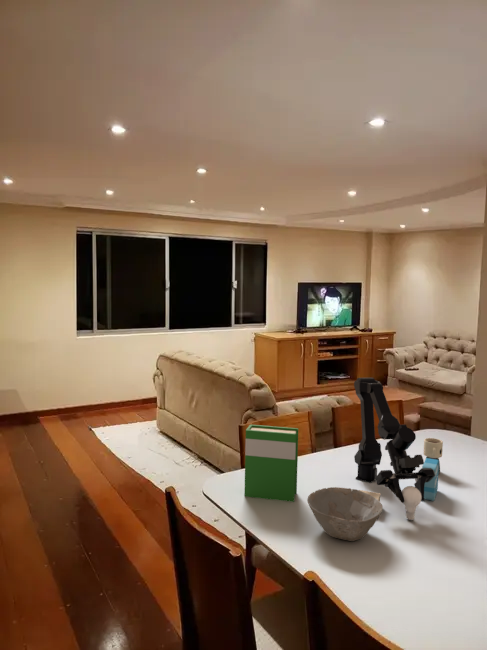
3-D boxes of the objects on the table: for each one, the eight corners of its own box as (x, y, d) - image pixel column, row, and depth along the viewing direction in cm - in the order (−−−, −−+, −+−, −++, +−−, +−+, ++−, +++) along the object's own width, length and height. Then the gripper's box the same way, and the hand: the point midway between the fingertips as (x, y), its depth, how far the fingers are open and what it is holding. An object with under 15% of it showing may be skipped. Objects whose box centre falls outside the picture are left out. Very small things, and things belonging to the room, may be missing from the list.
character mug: (442, 477, 203) (444, 445, 202) (423, 475, 205) (425, 443, 203) (439, 468, 213) (441, 437, 212) (421, 466, 215) (423, 435, 214)
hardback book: (296, 493, 185) (298, 428, 183) (294, 501, 178) (295, 434, 176) (248, 488, 189) (250, 424, 187) (244, 496, 182) (245, 430, 180)
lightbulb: (396, 515, 169) (398, 483, 168) (415, 515, 170) (417, 482, 169) (404, 524, 163) (406, 491, 162) (423, 524, 163) (425, 490, 162)
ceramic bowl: (337, 561, 141) (339, 526, 140) (292, 525, 161) (293, 494, 160) (398, 543, 151) (399, 510, 150) (348, 511, 171) (349, 482, 171)
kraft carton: (355, 511, 172) (355, 498, 171) (358, 502, 178) (359, 489, 178) (377, 515, 169) (378, 501, 169) (379, 506, 176) (380, 493, 175)
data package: (433, 502, 180) (435, 469, 179) (420, 499, 182) (421, 466, 181) (437, 490, 190) (439, 458, 189) (424, 487, 192) (426, 456, 191)
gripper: (380, 446, 166) (394, 493, 157) (433, 444, 170) (450, 490, 160) (369, 461, 175) (382, 507, 165) (420, 459, 178) (436, 503, 168)
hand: (413, 501), depth 164 cm, fingers closed on lightbulb, 6 cm apart
